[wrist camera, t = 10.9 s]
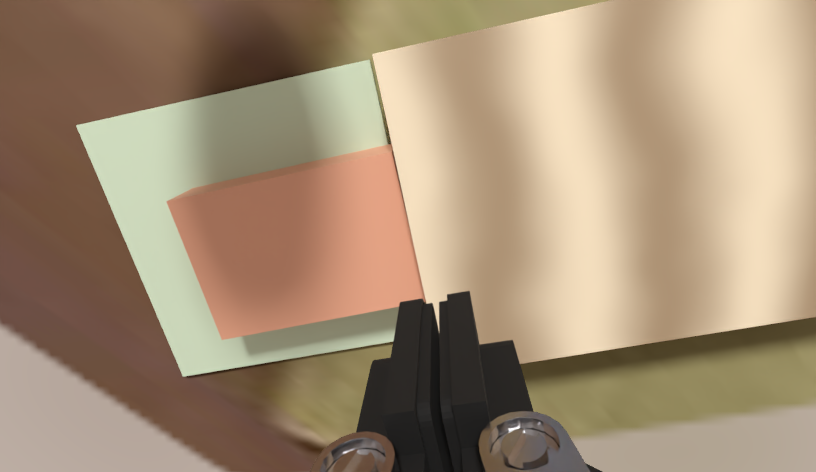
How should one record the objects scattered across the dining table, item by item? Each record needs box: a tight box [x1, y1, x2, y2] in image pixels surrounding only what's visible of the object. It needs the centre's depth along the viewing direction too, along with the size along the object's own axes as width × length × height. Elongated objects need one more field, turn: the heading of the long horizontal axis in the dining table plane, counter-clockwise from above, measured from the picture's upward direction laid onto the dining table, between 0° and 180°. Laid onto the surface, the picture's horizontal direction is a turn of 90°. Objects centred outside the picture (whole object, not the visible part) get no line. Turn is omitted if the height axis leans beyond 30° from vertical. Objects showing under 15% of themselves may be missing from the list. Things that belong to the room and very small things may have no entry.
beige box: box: [372, 0, 816, 364], centre depth 20 cm, size 20×14×4 cm
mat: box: [76, 60, 399, 377], centre depth 24 cm, size 14×14×1 cm
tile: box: [166, 144, 426, 340], centre depth 22 cm, size 10×7×2 cm
